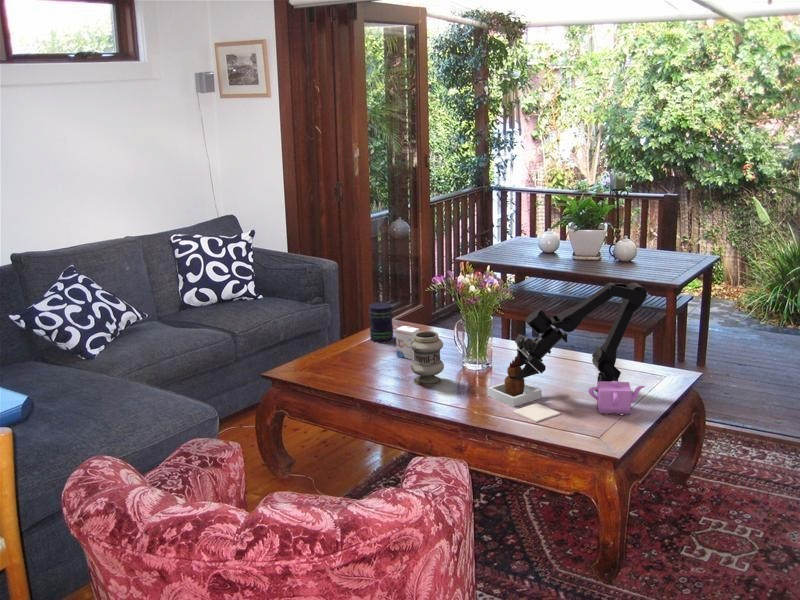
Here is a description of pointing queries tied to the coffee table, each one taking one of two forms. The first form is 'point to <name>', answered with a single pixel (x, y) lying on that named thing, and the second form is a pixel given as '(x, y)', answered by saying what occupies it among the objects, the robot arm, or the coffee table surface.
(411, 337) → the ink box
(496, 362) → the coffee table surface
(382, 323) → the storage jar
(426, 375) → the apothecary jar
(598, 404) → the teapot
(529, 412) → the tile
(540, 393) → the white square tray
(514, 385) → the wooden figurine
